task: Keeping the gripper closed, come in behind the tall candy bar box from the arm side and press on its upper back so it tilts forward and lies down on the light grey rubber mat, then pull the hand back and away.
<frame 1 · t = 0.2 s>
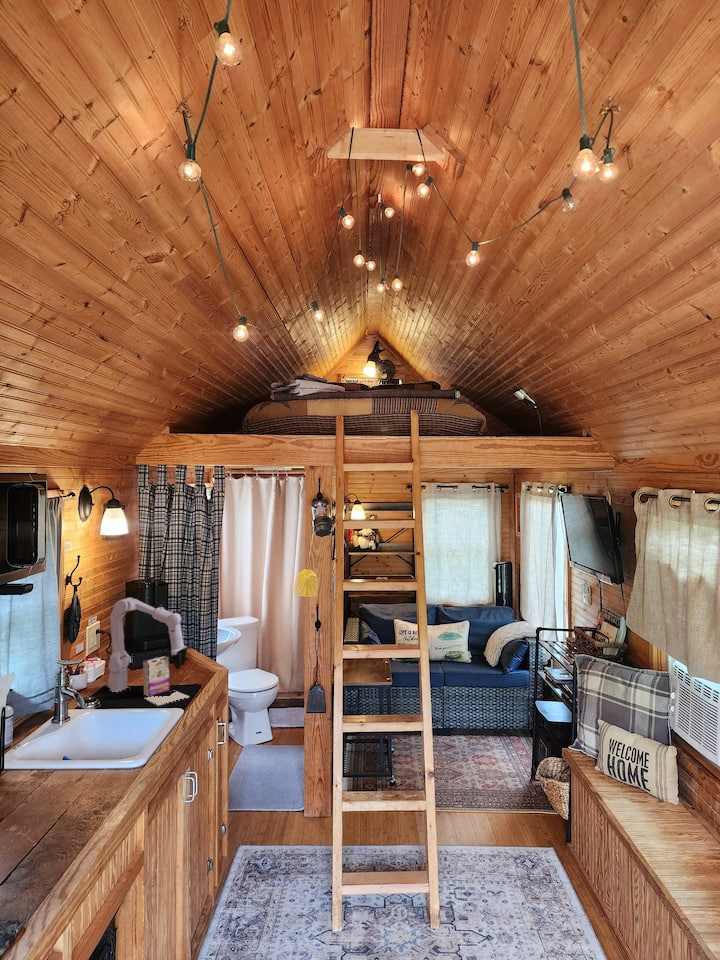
hand: (180, 666, 277), 10 cm above the worktop, tool pointing down, fingers open, 7 cm apart
candy bar box: (156, 694, 269), on the worktop
mat: (166, 698, 262), on the worktop
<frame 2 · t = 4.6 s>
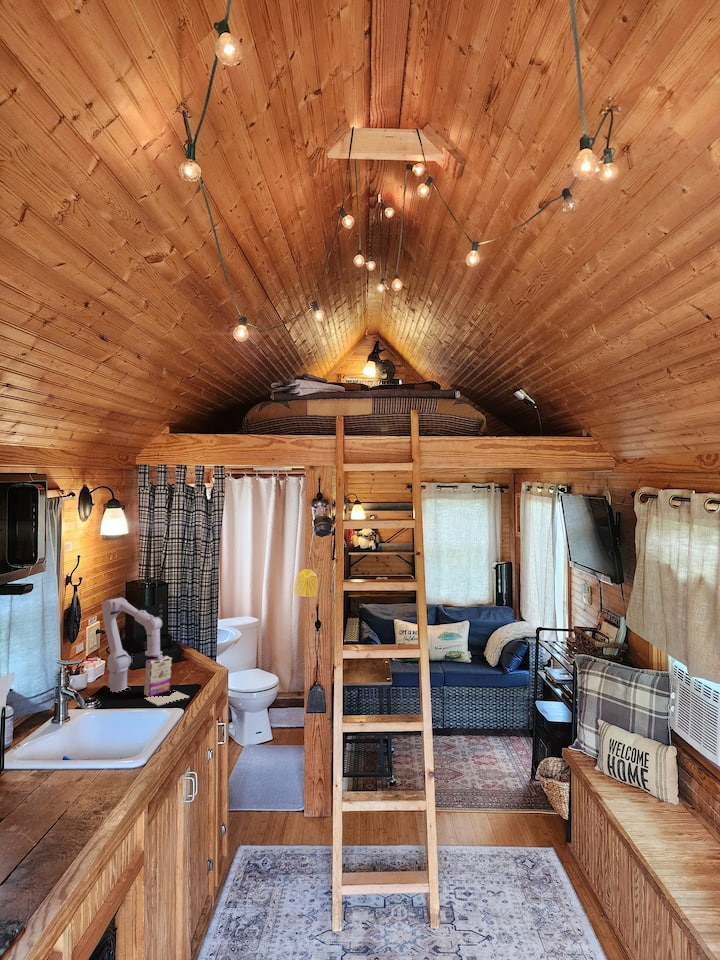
hand: (153, 672, 272), 9 cm above the worktop, tool pointing down, fingers closed
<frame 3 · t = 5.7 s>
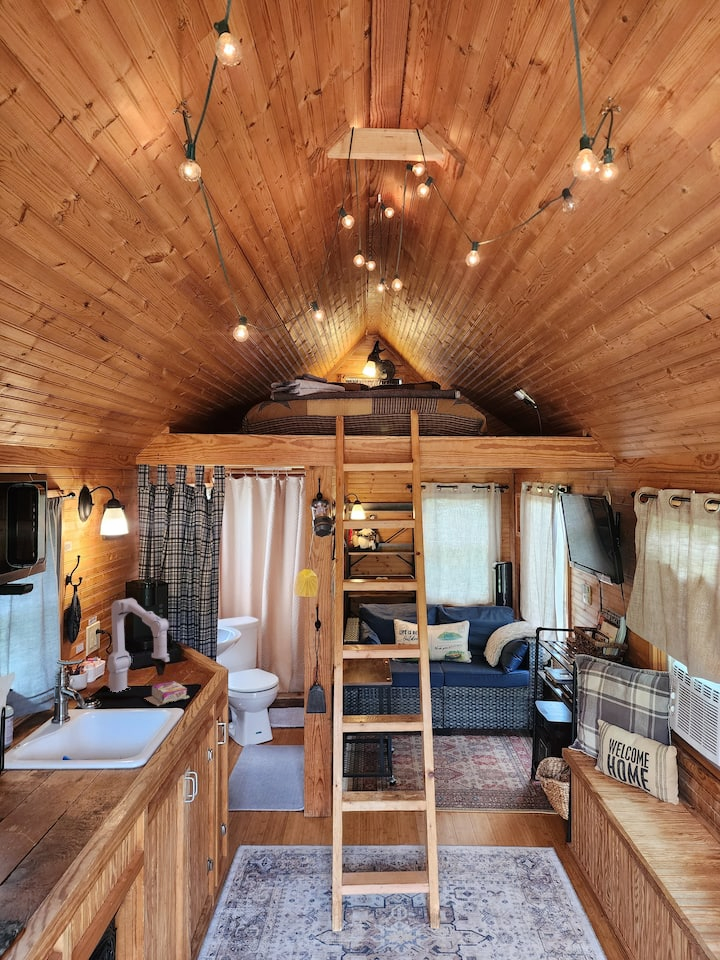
hand: (160, 675, 267), 9 cm above the worktop, tool pointing down, fingers closed
candy bar box: (163, 687, 268), point 3 cm above the worktop, touching mat
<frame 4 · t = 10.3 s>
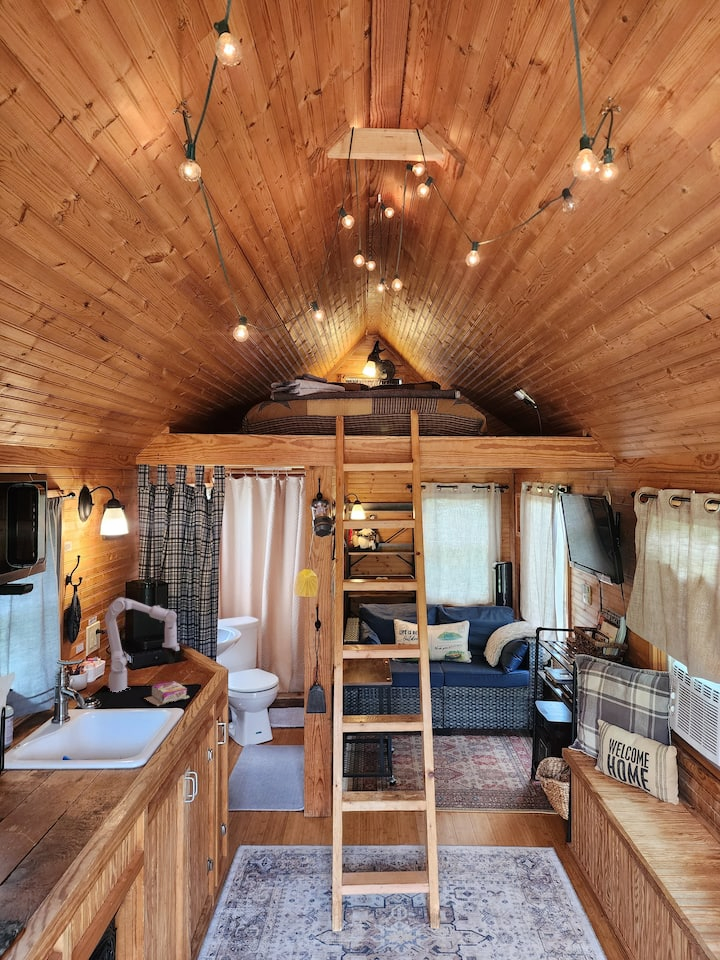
hand: (171, 663, 285), 10 cm above the worktop, tool pointing down, fingers closed
nothing on the worktop moved.
at the end: candy bar box tilted 91°; candy bar box touching mat; candy bar box inside the target area (2.6 cm from its centre), point 3.1 cm above the worktop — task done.
